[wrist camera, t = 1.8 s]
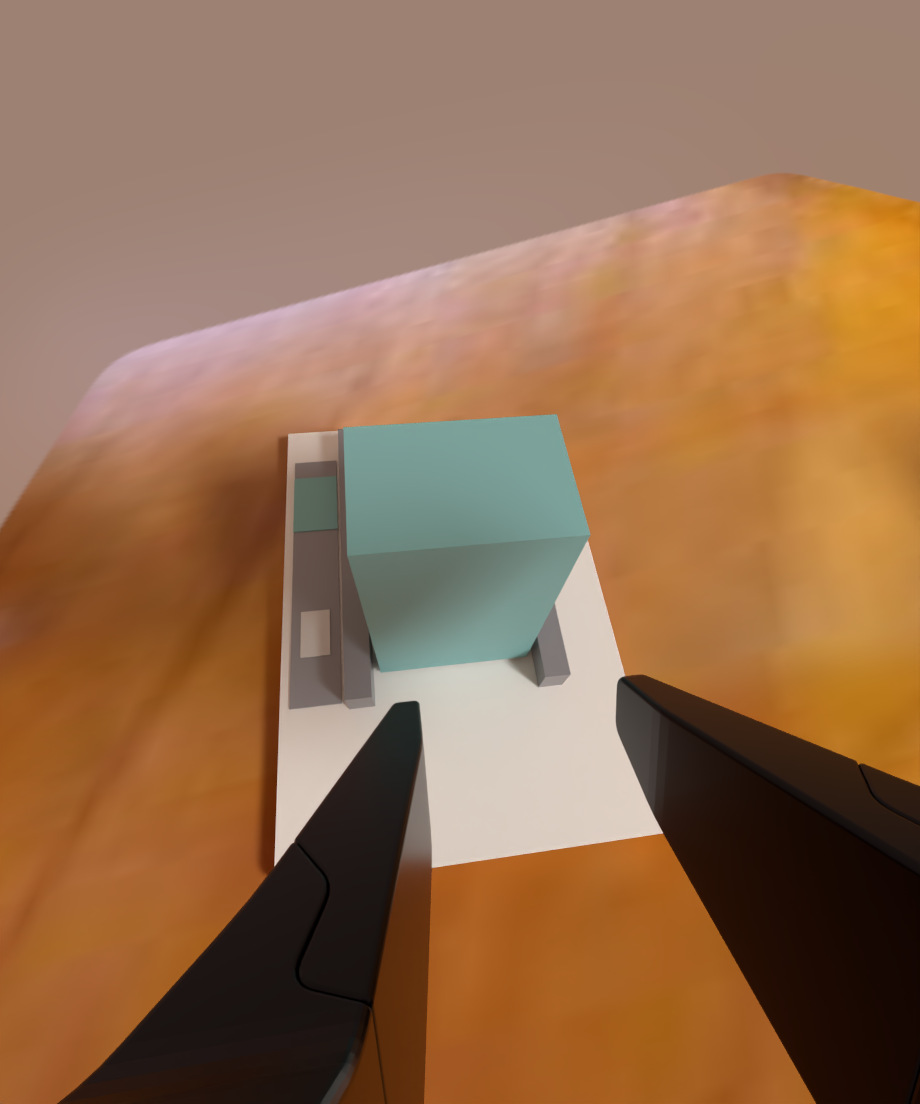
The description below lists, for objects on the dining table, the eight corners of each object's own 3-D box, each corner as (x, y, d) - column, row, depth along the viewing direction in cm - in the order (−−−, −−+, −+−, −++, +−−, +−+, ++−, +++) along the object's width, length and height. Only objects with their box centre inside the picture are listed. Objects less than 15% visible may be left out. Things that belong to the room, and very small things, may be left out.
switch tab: (526, 656, 22) (590, 535, 13) (380, 672, 21) (347, 556, 13) (510, 570, 24) (556, 414, 15) (375, 583, 23) (343, 427, 15)
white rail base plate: (657, 832, 20) (685, 831, 18) (280, 888, 19) (261, 895, 17) (550, 430, 30) (559, 397, 27) (292, 446, 28) (281, 413, 26)
